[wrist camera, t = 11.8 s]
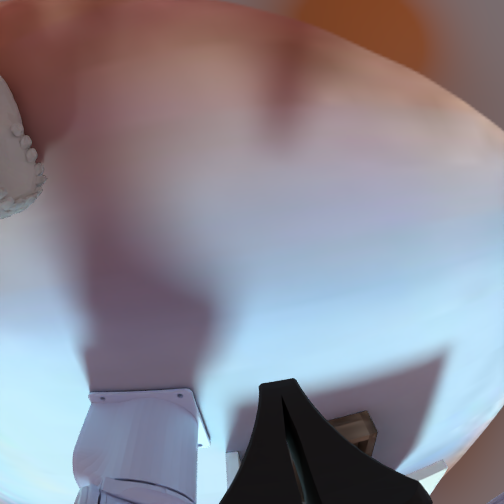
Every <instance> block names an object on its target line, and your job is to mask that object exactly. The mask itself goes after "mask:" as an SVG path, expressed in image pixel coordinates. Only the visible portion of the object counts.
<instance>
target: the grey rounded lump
mask: <svg viewBox="0 0 504 504" xmlns="http://www.w3.org/2000/svg"><path fill="white" fill-rule="evenodd" d="M31 144H32V141H31V139H30V137H29V136H27V135H24V128H23V125H22V119H21V116H20V113H19V110H18V107H17V104H16V102H15V100H14V98H13V94H12V93H11V91H10V89H9V87H8V85H7V83H6V82H5V80H4V79H3V78H2V77H1V75H0V219H3V218H7V217H10V216H11V215H13V214H15V213H19V212H22V211H23V210H25V209H26V208H28V207H29V206H30V205H31V204H32V203H33V202H34V201H35V199H37V197H38V196H39V195H40V194H41V192H42V191H43V189H42V187H41V186H42V185H43V184H44V183H45V181H46V180H47V178H46V177H45V176H44V175H42V174H43V172H44V167H43V165H42V164H41V163H37V164H36V163H35V161H36V159H37V156H38V155H37V152H36V150H35V149H34V148H30V146H31ZM41 175H42V176H41Z"/></svg>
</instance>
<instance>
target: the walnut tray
mask: <svg viewBox="0 0 504 504" xmlns="http://www.w3.org/2000/svg"><path fill="white" fill-rule="evenodd" d="M328 422H329V423H330V424H331V425H332V426H333V427H334V428H335V429H336V430H337V431H338V432H339V433H340V434H341V435H342V436H344V437H345V438H346V439H347V440H348V441H349V442H351V443H352V444H353V445H354V446H356V447H357V448H359V449H360V450H361V451H363V452H364V453H365V454H367V455H369V456H370V457H371V456H372V452H373V448H374V445H375V441H376V437H377V433H378V431H377V429H376V427H375V425H374V423H373V421H372V419H371V417H370V415H369V413H368V411H363V412H360V413H356V414H352V415H349V416H345V417H341V418H337V419H333V420H329V421H328ZM288 450H289V454H290V458H291V462H292V466H293V470H294V474H295V478H296V481H297V485H298V489H299V492H300V496H301V499H302V502H305V499H304V494H303V490H302V486H301V483H300V479H299V476H298V473H297V470H296V467H295V464H294V461H293V458H292V455H291V452H290V449H289V446H288Z"/></svg>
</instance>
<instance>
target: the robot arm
mask: <svg viewBox="0 0 504 504" xmlns="http://www.w3.org/2000/svg"><path fill="white" fill-rule="evenodd" d="M179 394H182V395H179ZM103 397H104V398H103ZM88 398H89V400H90V402H91V406H90V408H89V411H88V413H87V416H86V418H85V421H84V424H83V426H82V429H81V432H80V434H79V437H78V440H77V442H76V445H75V448H74V452H73V473H74V477H75V480H76V482H77V484H78V486H79V488H80V490H79V492H78V495H77V497H76V500H75V503H74V504H196V496H197V452H198V448H207V447H209V446H210V440H209V437H208V434H207V432H206V429H205V426H204V424H203V421H202V418H201V415H200V413H199V410H198V407H197V404H196V401H195V398H194V395H193V392H192V391H191V390H190V389H187V388H183V389H170V390H154V391H132V392H90V393H89V395H88ZM286 440H287V441H286ZM287 443H288V446H289V449H290V452H291V455H292V458H293V461H294V464H295V467H296V470H297V473H298V476H299V479H300V483H301V486H302V490H303V494H304V499H305V504H432V503H433V502H432V500H431V498H430V496H429V494H428V492H427V491H426V490H425V488H424V487H423V486H422V484H421V483H420V482H419V481H417V480H415V479H412V478H410V477H407V476H405V475H403V474H401V473H399V472H396V471H394V470H393V469H391V468H389V467H387V466H385V465H383V464H381V463H380V462H378V461H377V460H375V459H373V458H372V457H370V456H369V455H367V454H365V453H364V452H363V451H361V450H360V449H359V448H357V447H356V446H354V445H353V444H352V443H351V442H349V441H348V440H347V439H346V438H345V437H344V436H342V435H341V434H340V433H339V432H338V431H337V430H336V429H335V428H334V427H333V426H332V425H331V424H330V423H329V422H328V421H327V420H326V419H325V418H324V417H323V416H322V415H321V413H320V412H319V411H318V410H317V409H316V408H315V407H314V405H313V404H312V403H311V402H310V400H309V399H308V398H307V396H306V395H305V393H304V392H303V390H302V389H301V387H300V386H299V384H298V382H297V380H295V379H294V378H292V379H286V380H281V381H275V382H269V383H262V384H261V385H260V386H259V403H258V410H257V415H256V420H255V424H254V428H253V432H252V435H251V438H250V442H249V445H248V448H247V450H246V453H245V456H244V458H243V461H242V463H241V465H240V467H239V469H238V471H237V474H236V476H235V478H234V480H233V481H232V483H231V485H230V487H229V489H228V490H227V492H226V493H225V495H224V497H223V498H222V500H221V501H220V503H219V504H303V503H302V499H301V496H300V492H299V489H298V485H297V481H296V478H295V474H294V470H293V466H292V462H291V458H290V454H289V450H288V446H287ZM486 504H504V492H503V493H502V494H500V495H499V496H497V497H495V498H494V499H493V500H491V501H489V502H488V503H486Z"/></svg>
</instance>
